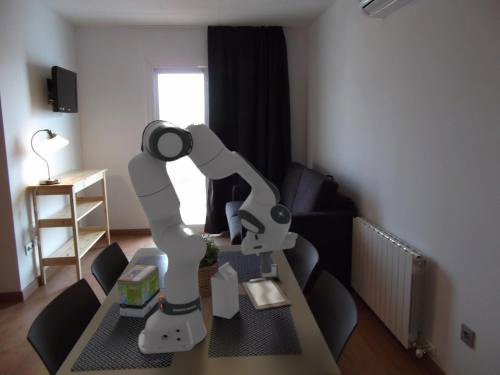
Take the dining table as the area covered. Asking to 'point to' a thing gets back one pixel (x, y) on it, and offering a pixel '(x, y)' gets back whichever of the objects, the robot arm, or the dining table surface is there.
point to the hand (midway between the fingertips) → (265, 252)
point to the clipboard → (265, 294)
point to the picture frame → (270, 275)
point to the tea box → (138, 290)
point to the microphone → (266, 262)
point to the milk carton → (225, 292)
